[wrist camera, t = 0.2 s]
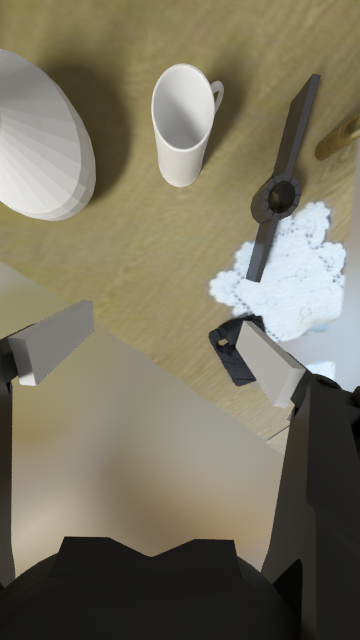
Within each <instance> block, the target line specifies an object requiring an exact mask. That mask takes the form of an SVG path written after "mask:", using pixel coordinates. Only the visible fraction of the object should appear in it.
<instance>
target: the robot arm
mask: <svg viewBox="0 0 360 640" xmlns="http://www.w3.org/2000/svg"><path fill="white" fill-rule="evenodd" d="M93 331H94V320H93V301H87V300H82V301H80V302H78V303H76V304H74V305H72V306H70V307H68V308H66V309H64V310H62V311H61V312H58V313H56V314H54V315H52V316H50V317H48V318H46V319H44V320H42V321H40V322H38V323H35V324H32V325H29V326H27V327H25V328H24V329H21V330H19V331H17V332H15V333H13V334H11V335H9V336H7V337H5V338H3V339H1V340H0V640H360V386H358V387H357V388H356V389H355V390H354V392H353V393H352V392H348V391H345V390H342V388H341V387H340V386H339V385H338V384H337V383H336V382H335V381H333V380H331V379H330V378H328V377H325V376H323V375H320V374H312V373H311V372H310V371H309V370H308V369H307V368H306V367H304V366H303V365H302V364H301V363H299V361H297V360H296V359H295V358H294V357H293V356H292V355H291V354H289V353H288V352H286V351H285V350H283V349H282V348H281V347H280V346H279V345H278V344H277V343H275V342H274V341H273V340H272V339H271V338H270V337H269V336H268V335H266V334H265V333H264V332H263V331H262V330H261V329H260V328H258V327H257V326H256V325H255V324H254V323H253V322H251V321H243V324H242V328H241V331H240V334H239V337H238V341H237V344H236V349H237V350H238V352H239V353H240V355H241V356H242V358H243V359H244V361H245V363H246V364H247V366H248V367H249V369H250V370H251V372H252V373H253V375H254V376H255V378H256V380H257V381H258V383H259V384H260V386H261V387H262V389H263V390H264V392H265V393H266V395H267V397H268V398H269V400H270V401H271V403H272V404H273V406H274V407H285V408H286V407H287V405H288V404H289V402H290V400H291V401H292V402H293V403H294V404H295V406H294V408H293V410H292V412H291V414H290V415H289V417H288V419H287V420H289V421H290V419H291V421H290V427H289V433H288V439H287V445H286V451H285V457H284V463H283V469H282V475H281V481H280V486H279V492H278V498H277V505H276V510H275V516H274V522H273V528H272V534H271V540H270V545H269V549H268V553H267V555H266V558H265V561H264V563H263V566H262V570H261V573H260V572H259V571H258V570H256V569H255V568H254V567H253V566H252V565H250V564H249V563H247V562H246V561H244V560H243V559H241V558H240V557H238V556H237V554H236V549H235V544H234V540H214V539H194V540H192V541H189V542H187V543H185V544H182V545H180V546H178V547H176V548H173V549H170V550H168V551H166V552H164V553H161V554H159V555H157V556H154V557H149V556H146V555H144V554H141V553H140V552H137V551H136V550H133V549H131V548H129V547H127V546H125V545H123V544H121V543H119V542H117V541H115V540H113V539H111V538H108V537H64V539H63V542H62V544H61V547H60V549H59V552H58V553H57V554H54V555H52V556H50V557H48V558H46V559H44V560H43V561H40V562H38V563H37V564H36V565H34V566H32V567H31V568H30V569H28V570H27V571H25V572H24V573H22V574H21V575H20V576H19V577H17V578H16V579H15V567H14V559H13V554H12V548H11V547H12V546H11V488H12V485H11V484H12V483H11V482H12V383H11V380H12V379H13V378H15V377H16V376H18V377H19V381H20V384H21V385H33V386H36V385H37V384H39V383H40V381H42V380H43V378H45V377H46V376H47V375H48V374H49V373H50V372H51V371H52V370H53V369H54V368H55V367H56V366H57V365H59V364H60V363H61V362H62V361H63V360H64V359H65V358H66V357H67V356H68V355H69V354H70V353H71V352H72V351H73V350H74V349H75V348H77V347H78V346H79V345H80V344H81V343H82V342H83V341H84V340H85V339H86V338H87V337H88V336H89V335H90V334H91V333H92V332H93Z"/></svg>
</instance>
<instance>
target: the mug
mask: <svg viewBox="0 0 360 640" xmlns="http://www.w3.org/2000/svg"><path fill="white" fill-rule="evenodd" d="M217 91H219V94H218V97H217V100H216V102H215V103H214V96H213V94H214V93H215V92H217ZM223 94H224V87H223V84H222V83H221V82H220V81H215V82H213V83H212V84H209V82H208V80H207V78H206V77H205V76H204V74H203V73H202V72H201V71H200V70H199V69H197V68H196V67H194V66H192V65H189V64H176V65H174V66H172V67H170V68H168V69H167V70H166V71H165V72H164V73H163V74H162V75H161V77H160V78H159V80H158V82H157V84H156V86H155V89H154V92H153V96H152V107H151V109H152V119H153V125H154V131H155V137H156V143H157V149H158V163H159V168H160V171H161V173H162V175H163V177H164V178H165V179H166V181H167V182H169V183H170V184H171V185H173V186H176V187H185V186H188V185H190V184H191V183H193V182H194V181H195V180H196V178H197V177H198V175H199V173H200V171H201V168H202V162H203V156H204V153H205V149H206V146H207V142H208V139H209V135H210V132H211V128H212V125H213V120H214V115H215V114H216V112H217V110H218V108H219V106H220V104H221V101H222V98H223Z"/></svg>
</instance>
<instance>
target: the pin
mask: <svg viewBox="0 0 360 640" xmlns="http://www.w3.org/2000/svg"><path fill="white" fill-rule="evenodd" d="M359 137H360V112H359V113H358V114H356V115H355V116H354V117H352V118H351V119H350V120H349V121H347V122H346V123H345V124H343V125H342V126H341V127H340V128H338V129H337V130H336V131H334V132H333V133H332V134H330V135H329V136H328V137H327V138H325V139H324V140H323V141H321V142H320V143H319V144H318V146H317V147H316V150H315V156H316V158H317V159H318V160H324V159H326V158H327V157H329V156H330V155H332V154H334V153H335V152H337V151H338V150H340V149H341V148H343V147H345V146H346V145H348V144H349V143H351V142H352V141H354V140H356V139H357V138H359Z"/></svg>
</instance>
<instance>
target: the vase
mask: <svg viewBox="0 0 360 640" xmlns="http://www.w3.org/2000/svg"><path fill="white" fill-rule="evenodd" d="M95 183H96V167H95V157H94V153H93V149H92V144H91V140H90V137H89V135H88V133H87V130H86V128H85V126H84V124H83V121H82V119H81V118H80V116H79V114H78V113H77V111H76V110H75V108H74V107H73V105H72V104H71V103H70V101H69V100H68V98H67V97H66V95H65V94H64V92H63V91H62V89H61V88H60V87H59V86H58V85H57V84H56V83H55V82H54V81H53V80H52V79H51V78H50V77H49V76H48V75H47V74H46V73H45V72H44V71H43V70H41V69H40V68H38V67H37V66H35V65H34V64H32V63H31V62H29V61H27V60H26V59H24V58H22V57H21V56H19V55H17V54H16V53H14V52H11V51H7V50H3V49H0V201H1V202H3V203H4V204H6V205H7V206H8V207H10V208H11V209H12V210H15V211H17V212H19V213H21V214H24V215H26V216H28V217H33V218H37V219H43V220H48V221H56V220H65V219H67V218H69V217H71V216H73V215H75V214H77V213H79V212H80V211H81V210H82V209H83V208H84V207H85V206H86V205H87V204H88V203H89V201H90V199H91V197H92V195H93V192H94V188H95Z"/></svg>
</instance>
